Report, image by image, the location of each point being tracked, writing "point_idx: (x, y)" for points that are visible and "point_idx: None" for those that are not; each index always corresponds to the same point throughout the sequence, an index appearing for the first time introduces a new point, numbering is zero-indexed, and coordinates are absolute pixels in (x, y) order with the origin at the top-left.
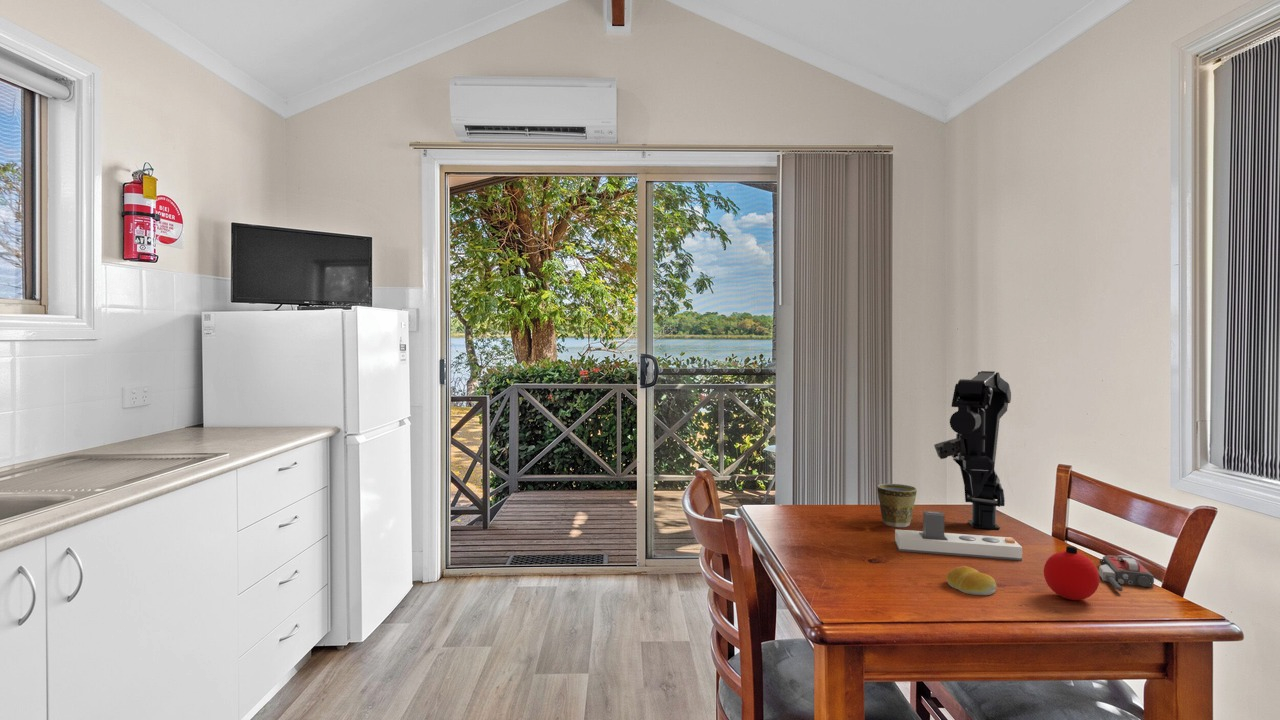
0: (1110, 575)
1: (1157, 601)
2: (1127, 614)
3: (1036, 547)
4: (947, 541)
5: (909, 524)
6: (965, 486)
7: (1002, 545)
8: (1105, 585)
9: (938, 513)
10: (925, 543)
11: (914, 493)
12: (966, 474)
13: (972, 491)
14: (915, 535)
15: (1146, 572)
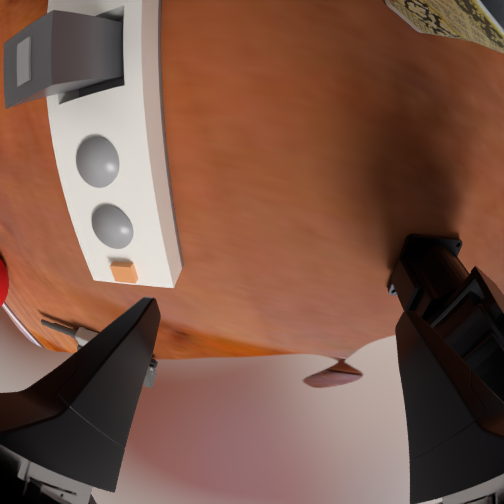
0: (72, 336)
1: (52, 336)
2: None
3: (235, 317)
4: (49, 103)
5: (413, 28)
6: (405, 318)
7: (81, 243)
8: (65, 320)
9: (17, 81)
10: None
11: (472, 11)
12: (433, 396)
13: (125, 313)
14: (83, 7)
15: None
